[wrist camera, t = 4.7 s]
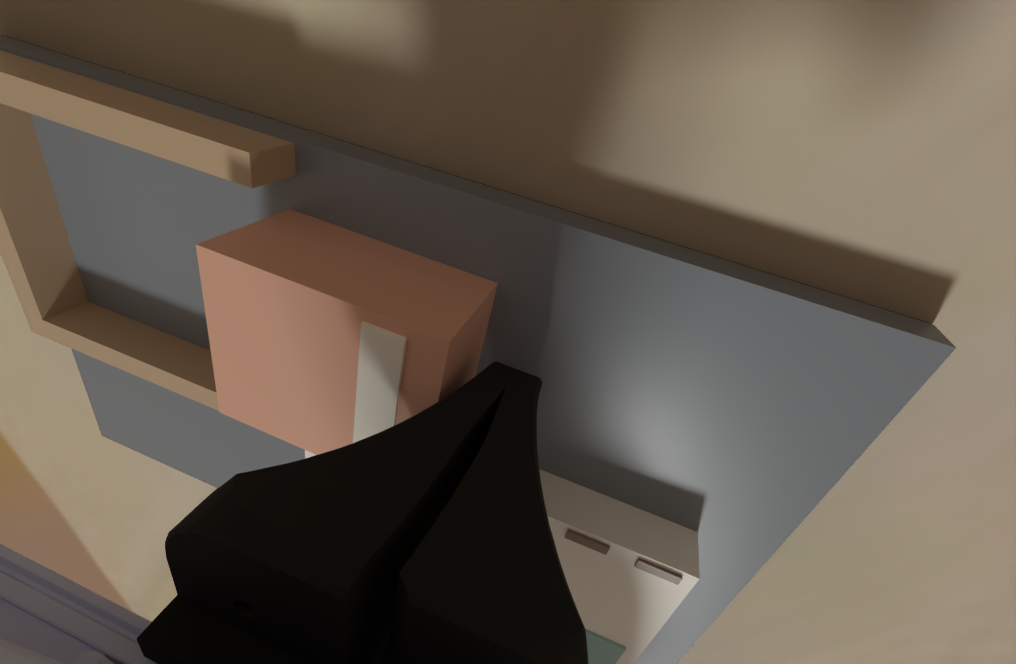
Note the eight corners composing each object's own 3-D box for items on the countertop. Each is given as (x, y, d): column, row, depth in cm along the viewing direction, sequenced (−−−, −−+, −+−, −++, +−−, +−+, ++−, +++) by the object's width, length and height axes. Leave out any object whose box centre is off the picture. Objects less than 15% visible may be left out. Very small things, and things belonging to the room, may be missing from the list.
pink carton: (463, 424, 15) (417, 502, 12) (293, 356, 15) (216, 414, 13) (497, 283, 12) (447, 343, 9) (290, 208, 13) (191, 245, 10)
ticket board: (656, 659, 19) (653, 736, 17) (123, 422, 23) (64, 459, 21) (933, 325, 10) (1001, 394, 8) (2, 35, 14) (-120, 30, 12)
